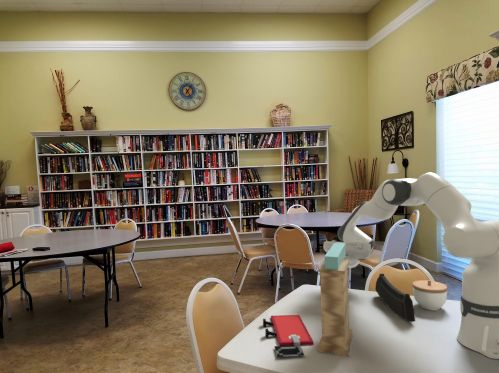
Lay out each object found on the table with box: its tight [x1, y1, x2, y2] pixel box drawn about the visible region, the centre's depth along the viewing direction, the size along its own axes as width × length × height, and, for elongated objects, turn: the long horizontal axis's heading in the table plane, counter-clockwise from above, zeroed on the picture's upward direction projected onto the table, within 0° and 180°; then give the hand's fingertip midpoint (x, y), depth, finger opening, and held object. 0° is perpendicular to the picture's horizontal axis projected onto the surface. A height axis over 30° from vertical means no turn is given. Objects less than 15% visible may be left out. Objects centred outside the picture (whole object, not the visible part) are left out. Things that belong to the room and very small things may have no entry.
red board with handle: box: [262, 314, 315, 357], centre depth 116 cm, size 30×3×15 cm
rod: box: [324, 243, 346, 270], centre depth 113 cm, size 4×22×4 cm, turn 158°
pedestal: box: [317, 259, 353, 357], centre depth 109 cm, size 9×15×26 cm, turn 158°
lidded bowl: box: [411, 279, 448, 311], centre depth 136 cm, size 13×13×11 cm
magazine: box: [375, 273, 416, 323], centre depth 135 cm, size 17×3×30 cm
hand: (345, 242), depth 142 cm, fingers open, 8 cm apart
